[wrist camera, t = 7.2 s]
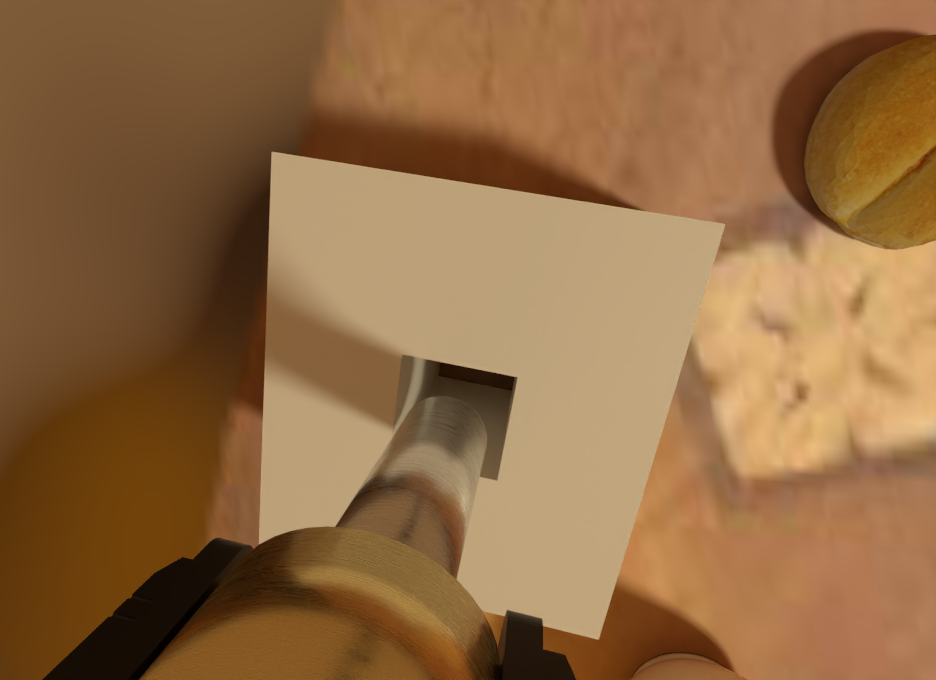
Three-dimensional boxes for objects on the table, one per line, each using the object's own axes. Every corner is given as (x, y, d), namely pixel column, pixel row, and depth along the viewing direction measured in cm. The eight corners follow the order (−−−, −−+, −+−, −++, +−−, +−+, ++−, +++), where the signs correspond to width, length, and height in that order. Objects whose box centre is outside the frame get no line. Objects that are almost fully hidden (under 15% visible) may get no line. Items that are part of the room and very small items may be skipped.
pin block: (367, 170, 27) (271, 151, 17) (656, 217, 25) (725, 224, 16) (342, 451, 32) (258, 555, 23) (580, 504, 30) (598, 639, 21)
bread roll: (911, 7, 22) (991, -36, 18) (1034, 150, 22) (1136, 139, 19) (755, 151, 24) (796, 140, 20) (870, 276, 25) (931, 289, 21)
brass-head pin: (379, 351, 17) (57, 640, 6) (533, 381, 17) (518, 769, 5) (365, 484, 19) (92, 918, 7) (505, 516, 18) (446, 1037, 7)
